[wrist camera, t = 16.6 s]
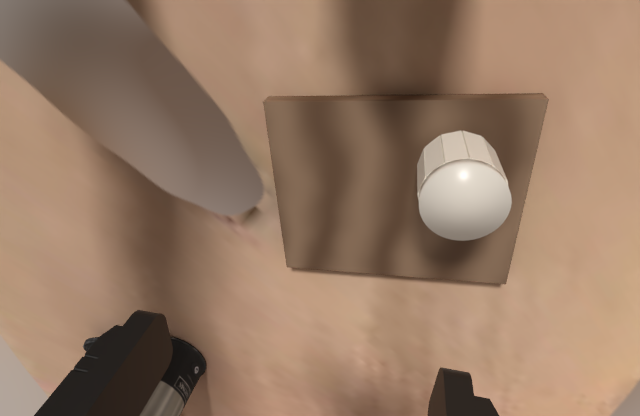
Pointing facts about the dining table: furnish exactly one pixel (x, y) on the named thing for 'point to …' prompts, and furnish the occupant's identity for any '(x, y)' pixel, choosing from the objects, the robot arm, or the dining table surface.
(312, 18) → the dining table surface
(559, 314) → the dining table surface
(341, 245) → the post board
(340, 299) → the dining table surface
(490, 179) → the cap
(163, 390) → the milk frother
